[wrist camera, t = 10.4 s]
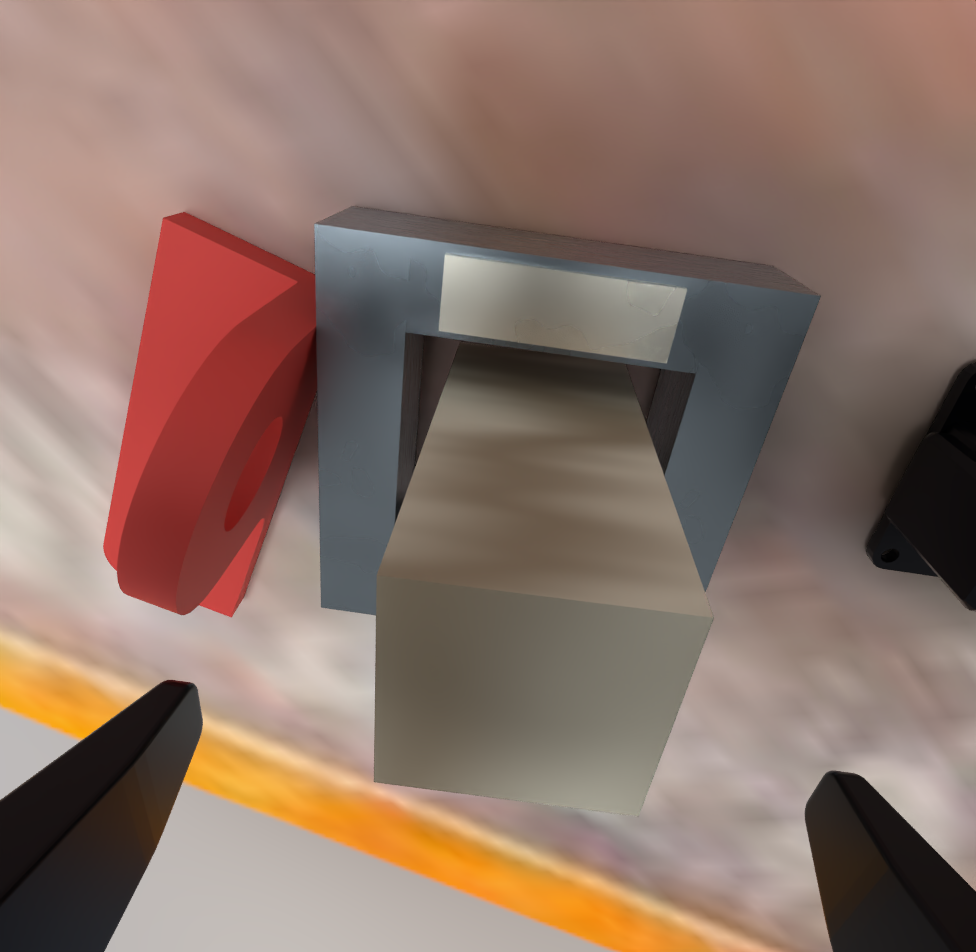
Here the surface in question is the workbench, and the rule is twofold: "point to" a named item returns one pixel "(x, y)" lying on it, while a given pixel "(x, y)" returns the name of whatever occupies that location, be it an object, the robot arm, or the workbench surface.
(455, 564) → the birch peg
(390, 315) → the plate
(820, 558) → the workbench surface
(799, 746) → the workbench surface
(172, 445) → the bracket
